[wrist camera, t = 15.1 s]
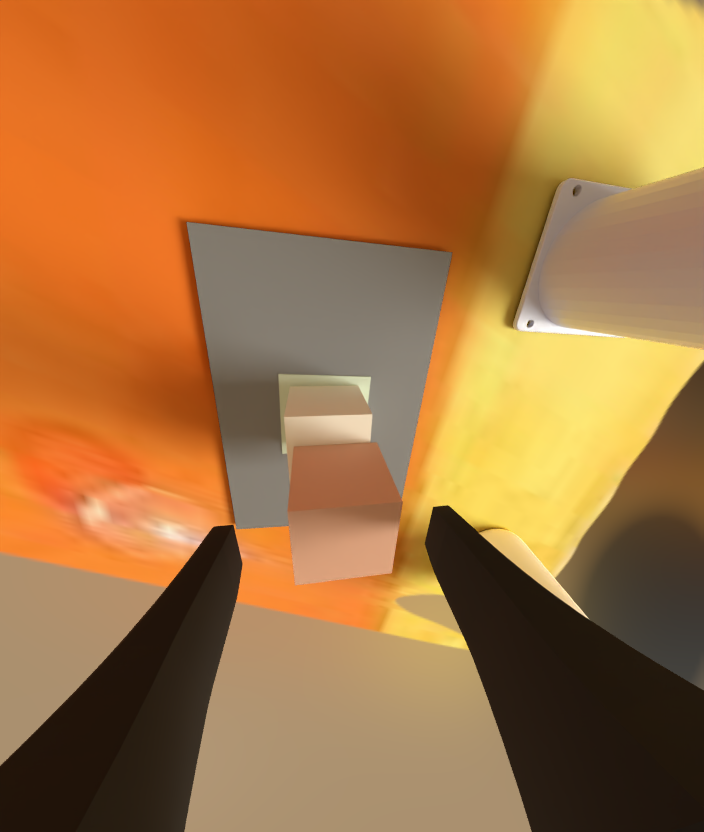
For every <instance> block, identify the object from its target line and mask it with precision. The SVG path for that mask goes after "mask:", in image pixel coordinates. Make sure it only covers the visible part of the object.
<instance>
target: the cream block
mask: <svg viewBox="0 0 704 832" xmlns="http://www.w3.org/2000/svg"><path fill="white" fill-rule="evenodd" d="M284 424H285V435H286V447H287V458H288V469H289V481H290V480H291V469H292V459H293V449H294V447H297V446H316V445H335V444H354V443H370V440H371V427H372V412H371V410H370V408H369V406H368V404H367V402H366V400H365V398H364V396H363V394H362V392H361V390H360V388H359V386H358V385H353V386H290V389H289V394H288V399H287V404H286V409H285V414H284Z"/></svg>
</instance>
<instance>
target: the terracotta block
mask: <svg viewBox="0 0 704 832" xmlns="http://www.w3.org/2000/svg"><path fill="white" fill-rule="evenodd" d="M402 503H403V501H402V499H401V497H400V494H399V492H398V490H397V487H396V485H395V483H394V481H393V478H392V476H391V474H390V471H389V469H388V467H387V464H386V462H385V460H384V458H383V455H382V453H381V451H380V448H379V446H378V444H377V442H373V443H354V444H335V445H316V446H297V447H294V449H293V459H292V469H291V480H290V490H289V500H288V510H287V513H288V522H289V532H290V541H291V551H292V560H293V569H294V579H295V585H302V584H310V583H318V582H325V581H333V580H341V579H349V578H357V577H365V576H372V575H380V574H388V573H392V568H393V562H394V555H395V549H396V542H397V536H398V529H399V523H400V516H401V509H402Z"/></svg>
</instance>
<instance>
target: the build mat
mask: <svg viewBox="0 0 704 832" xmlns="http://www.w3.org/2000/svg"><path fill="white" fill-rule="evenodd" d="M187 229H188V235H189V241H190V247H191V253H192V259H193V265H194V271H195V278H196V284H197V290H198V296H199V302H200V308H201V314H202V320H203V327H204V333H205V339H206V345H207V351H208V357H209V363H210V369H211V376H212V382H213V388H214V394H215V400H216V406H217V412H218V418H219V425H220V431H221V437H222V443H223V449H224V455H225V461H226V468H227V474H228V480H229V486H230V492H231V498H232V504H233V510H234V517H235V523H236V529H248V528H264V527H280V526H289V522H288V513H287V510H288V500H289V490H290V481H289V469H288V458H287V447H286V435H285V424H284V414H285V409H286V404H287V399H288V394H289V389H290V386H353V385H358V386H359V388H360V390H361V392H362V394H363V396H364V398H365V400H366V402H367V404H368V406H369V408H370V410H371V412H372V427H371V440H370V443H373V442H377V444H378V446H379V448H380V451H381V453H382V455H383V458H384V460H385V462H386V464H387V467H388V469H389V471H390V474H391V476H392V478H393V481H394V483H395V485H396V487H397V490H398V492H399V494H400V497H401V499H402V495H403V490H404V485H405V480H406V475H407V470H408V466H409V461H410V456H411V451H412V446H413V441H414V436H415V432H416V427H417V422H418V417H419V412H420V407H421V402H422V398H423V393H424V388H425V383H426V378H427V373H428V368H429V364H430V359H431V354H432V349H433V344H434V339H435V335H436V330H437V325H438V320H439V315H440V310H441V305H442V301H443V296H444V291H445V286H446V281H447V276H448V271H449V267H450V262H451V257H452V252H444V251H435V250H426V249H418V248H409V247H400V246H392V245H383V244H374V243H365V242H357V241H348V240H339V239H331V238H322V237H313V236H304V235H296V234H287V233H278V232H270V231H261V230H252V229H243V228H235V227H226V226H217V225H209V224H200V223H191V222H187Z"/></svg>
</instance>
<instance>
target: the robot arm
mask: <svg viewBox="0 0 704 832" xmlns="http://www.w3.org/2000/svg"><path fill="white" fill-rule="evenodd" d="M574 188H575V194H574V196H573V189H574ZM528 321H530V322H529V325H528V326H527V322H528ZM513 328H514V329H515V330H518V331H528V332H543V333H559V334H574V335H589V336H605V337H620V338H624V337H627V338H633V339H640V340H646V341H652V342H659V343H665V344H671V345H678V346H684V347H690V348H697V349H703V350H704V167H703V168H700V169H697V170H693V171H690V172H687V173H684V174H680V175H677V176H674V177H670V178H667V179H664V180H661V181H657V182H654V183H651V184H647V185H644V186H641V187H637V188H634V189H631V188H625V187H620V186H614V185H609V184H603V183H598V182H592V181H586V180H581V179H575V178H569V179H567V180H564V181H563V182H561V183H560V184H559V186H558V188H557V190H556V193H555V196H554V199H553V202H552V205H551V208H550V211H549V214H548V217H547V220H546V223H545V227H544V230H543V233H542V236H541V239H540V242H539V245H538V248H537V251H536V254H535V257H534V260H533V263H532V267H531V270H530V273H529V276H528V279H527V282H526V285H525V288H524V291H523V294H522V297H521V300H520V304H519V307H518V310H517V313H516V316H515V319H514V322H513ZM425 546H426V549H427V552H428V555H429V558H430V561H431V564H432V567H433V570H434V573H435V575H436V577H437V580H438V582H439V584H440V586H441V588H442V591H443V593H444V595H445V597H446V599H447V602H448V604H449V606H450V608H451V610H452V612H453V615H454V617H455V619H456V621H457V623H458V625H459V628H460V630H461V632H462V634H463V636H464V638H465V641H466V643H467V645H468V648H469V650H470V652H471V655H472V657H473V659H474V662H475V665H476V668H477V670H478V673H479V676H480V678H481V681H482V684H483V687H484V689H485V692H486V695H487V697H488V700H489V703H490V706H491V709H492V711H493V715H494V717H495V720H496V723H497V726H498V729H499V732H500V734H501V737H502V740H503V743H504V746H505V749H506V752H507V755H508V758H509V761H510V764H511V767H512V770H513V773H514V776H515V779H516V782H517V786H518V788H519V792H520V795H521V797H522V801H523V804H524V808H525V811H526V814H527V818H528V821H529V824H530V827H531V830H532V832H704V690H702V689H700V688H698V687H697V686H695V685H693V684H692V683H690V682H688V681H686V680H685V679H683V678H681V677H680V676H678V675H676V674H674V673H673V672H671V671H670V670H668V669H666V668H664V667H663V666H661V665H660V664H658V663H656V662H654V661H653V660H651V659H650V658H648V657H646V656H645V655H643V654H641V653H640V652H638V651H637V650H635V649H633V648H632V647H630V646H629V645H627V644H625V643H624V642H623V641H621V640H619V639H618V638H616V637H615V636H613V635H612V634H610V633H609V632H607V631H606V630H604V629H603V628H601V627H600V626H598V625H596V624H595V623H594V622H592V621H590V620H589V619H588V618H586V617H585V616H583V615H582V614H580V613H579V612H578V611H576V610H575V609H573V608H572V607H571V606H569V605H568V604H566V603H565V602H564V601H562V600H561V599H559V598H558V597H557V596H555V595H554V594H552V593H551V592H550V591H548V590H547V589H546V588H545V587H543V586H542V585H541V584H539V583H538V582H537V581H535V580H534V579H533V578H532V577H530V576H529V575H528V574H527V573H525V572H524V571H523V570H522V569H520V568H519V567H518V566H517V565H515V564H514V563H513V562H512V561H511V560H509V559H508V558H507V557H506V556H505V555H503V554H502V553H501V552H500V551H499V550H498V549H496V548H495V547H494V546H493V545H492V544H491V543H490V542H488V541H487V540H486V539H485V538H484V537H483V536H482V535H481V534H479V533H478V532H477V531H476V530H475V529H474V528H473V527H472V526H471V525H469V524H468V523H467V522H466V521H465V520H464V519H463V518H462V517H461V516H460V515H458V514H457V513H456V512H455V511H454V510H453V509H452V508H451V507H449V506H438V507H433V510H432V515H431V519H430V524H429V528H428V532H427V537H426V541H425ZM241 570H242V560H241V556H240V552H239V547H238V543H237V539H236V534H235V530H234V526H233V525H227V526H216V527H213V528H212V529H211V531H210V532H209V533H208V535H207V536H206V537H205V539H204V540H203V541H202V543H201V544H200V546H199V547H198V548H197V550H196V551H195V552H194V554H193V555H192V556H191V558H190V559H189V560H188V561H187V563H186V564H185V565H184V567H183V568H182V569H181V571H180V572H179V573H178V574H177V576H176V577H175V578H174V579H173V581H172V582H171V583H170V584H169V586H168V587H167V588H166V589H165V591H164V592H163V593H162V594H161V596H160V597H159V598H158V599H157V601H156V602H155V603H154V604H153V605H152V606H151V608H150V609H149V610H148V611H147V612H146V614H145V615H144V616H143V617H142V618H141V619H140V621H139V622H138V623H137V624H136V625H135V626H134V628H133V629H132V630H131V631H130V632H129V633H128V635H127V636H126V637H125V638H124V639H123V640H122V641H121V642H120V644H119V645H118V646H117V647H116V648H115V649H114V650H113V652H111V654H110V655H109V656H108V657H107V658H106V659H105V660H104V661H103V662H102V664H100V665H99V667H98V668H97V669H96V670H95V671H94V672H93V673H92V674H91V675H90V676H89V677H88V678H87V680H86V681H84V682H83V684H82V685H81V686H80V687H79V688H78V689H77V690H76V691H75V692H74V693H73V694H72V695H71V696H70V697H69V698H68V699H67V700H66V701H65V702H64V703H63V704H62V705H61V706H60V707H59V708H58V709H57V710H56V711H55V712H54V713H53V714H52V715H51V716H50V717H49V718H48V719H47V720H46V721H45V722H44V723H43V724H42V725H41V726H40V727H39V728H38V730H36V731H35V732H34V733H33V734H32V735H31V736H30V737H29V738H28V739H27V740H26V741H25V742H24V743H23V744H22V745H21V746H20V747H19V748H18V749H17V750H16V751H15V752H14V753H13V754H12V755H11V756H10V757H9V758H8V759H7V760H6V761H5V762H4V763H3V764H2V765H1V766H0V832H184V830H185V824H186V818H187V813H188V807H189V802H190V796H191V791H192V785H193V781H194V775H195V770H196V764H197V759H198V754H199V749H200V744H201V739H202V734H203V729H204V724H205V719H206V713H207V708H208V704H209V700H210V696H211V692H212V688H213V683H214V680H215V676H216V673H217V669H218V665H219V662H220V658H221V654H222V651H223V647H224V644H225V640H226V636H227V633H228V629H229V625H230V621H231V618H232V614H233V611H234V607H235V603H236V599H237V594H238V589H239V583H240V577H241Z"/></svg>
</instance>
